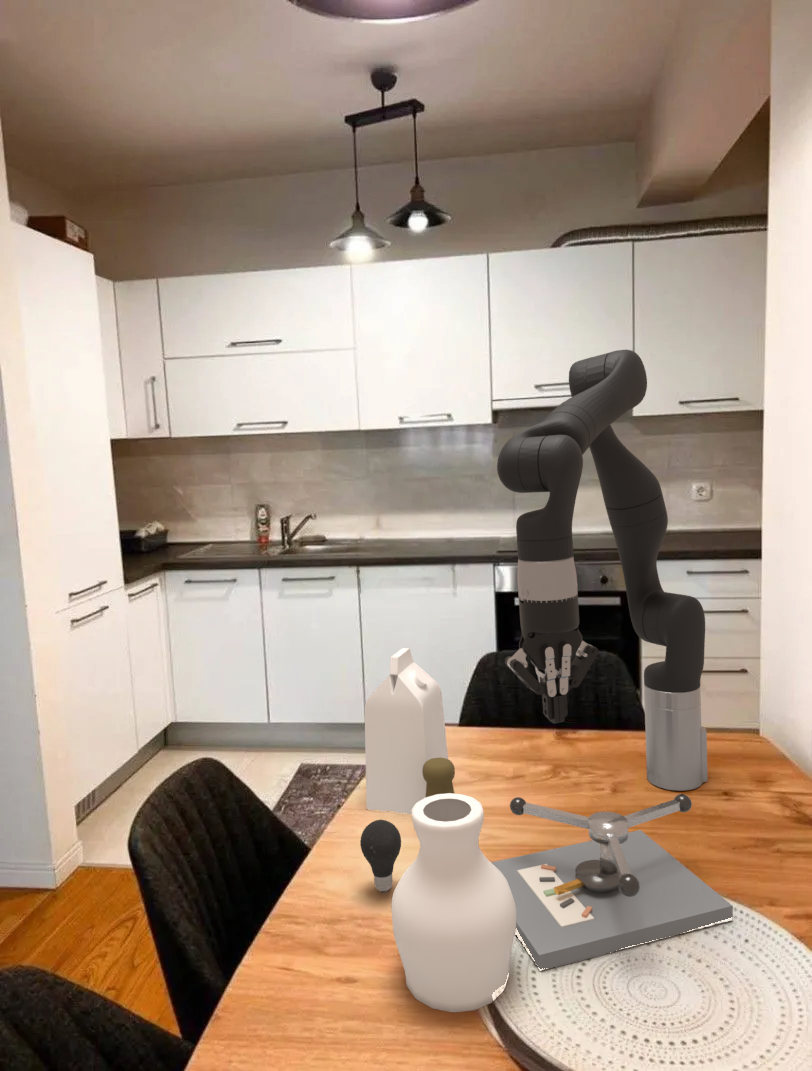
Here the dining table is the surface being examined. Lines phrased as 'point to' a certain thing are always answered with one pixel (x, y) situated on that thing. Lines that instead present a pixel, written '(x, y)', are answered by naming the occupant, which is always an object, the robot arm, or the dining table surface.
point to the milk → (402, 735)
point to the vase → (453, 909)
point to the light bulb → (381, 851)
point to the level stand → (605, 902)
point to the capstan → (604, 843)
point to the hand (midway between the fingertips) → (555, 720)
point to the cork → (438, 776)
